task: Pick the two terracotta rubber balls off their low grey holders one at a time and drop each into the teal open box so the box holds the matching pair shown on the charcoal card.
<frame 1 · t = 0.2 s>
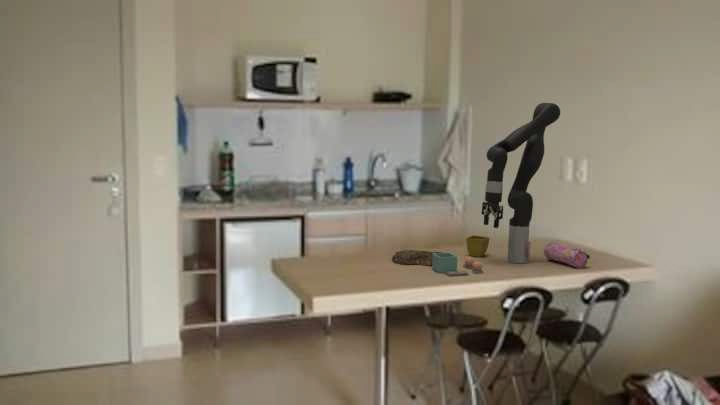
hand: (490, 226, 334), 17 cm above the table, tool pointing down, fingers open, 8 cm apart
target card: (456, 274, 314), on the table
ball a: (468, 261, 326), point 3 cm above the table, touching holder a
holder b: (477, 272, 318), on the table
flower pot: (477, 256, 353), on the table
ball b: (477, 266, 318), point 3 cm above the table, touching holder b
stone relief: (424, 261, 341), on the table
holder a: (468, 267, 327), on the table
pencil case: (565, 264, 338), on the table
teal open box: (444, 270, 320), on the table
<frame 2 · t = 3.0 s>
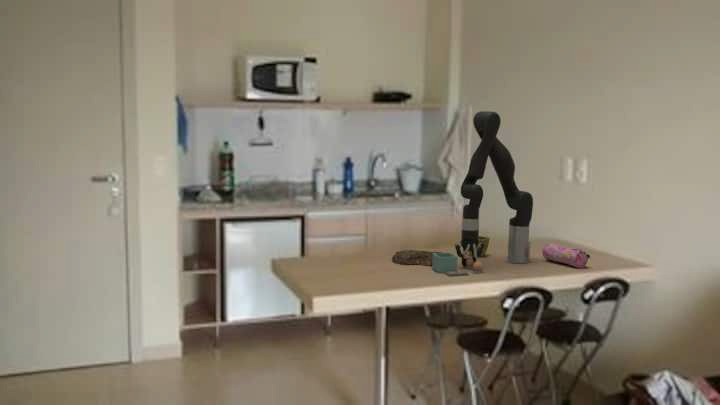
hand: (468, 265, 326), 1 cm above the table, tool pointing down, fingers closed on ball a, 4 cm apart
ball a: (468, 261, 326), point 3 cm above the table, touching gripper, holder a
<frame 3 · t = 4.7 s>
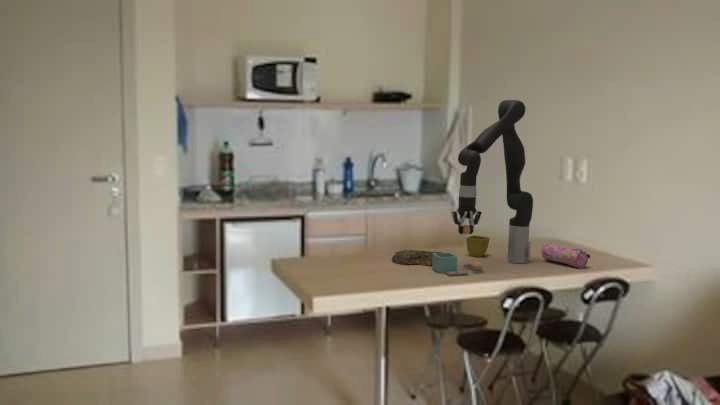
hand: (465, 233, 323), 16 cm above the table, tool pointing down, fingers closed on ball a, 4 cm apart
ball a: (465, 229, 323), point 18 cm above the table, touching gripper
when the fingers open (9 cm above the table, at t = 6.3 s): ball a drops 8 cm, resting on teal open box.
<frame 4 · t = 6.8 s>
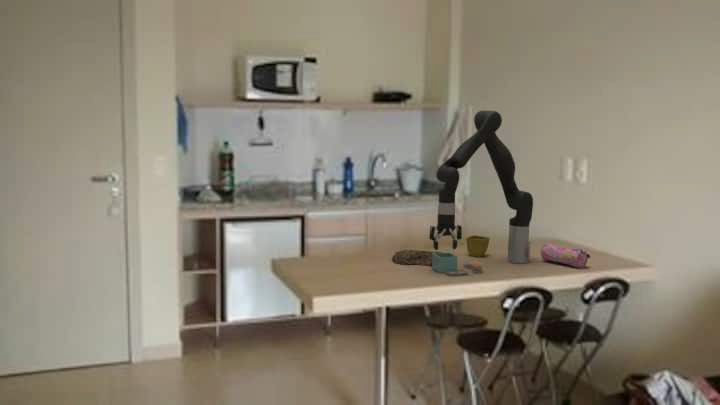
hand: (445, 249, 319), 10 cm above the table, tool pointing down, fingers open, 8 cm apart
ball a: (444, 265, 320), point 2 cm above the table, touching teal open box
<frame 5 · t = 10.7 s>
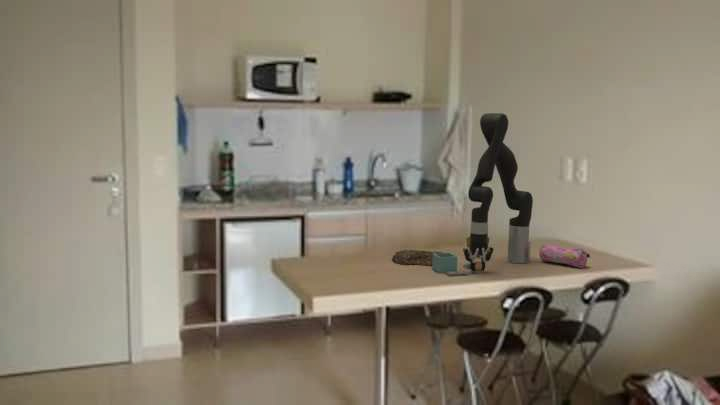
hand: (477, 270, 318), 1 cm above the table, tool pointing down, fingers closed on ball b, 4 cm apart
ball b: (477, 266, 318), point 3 cm above the table, touching gripper, holder b
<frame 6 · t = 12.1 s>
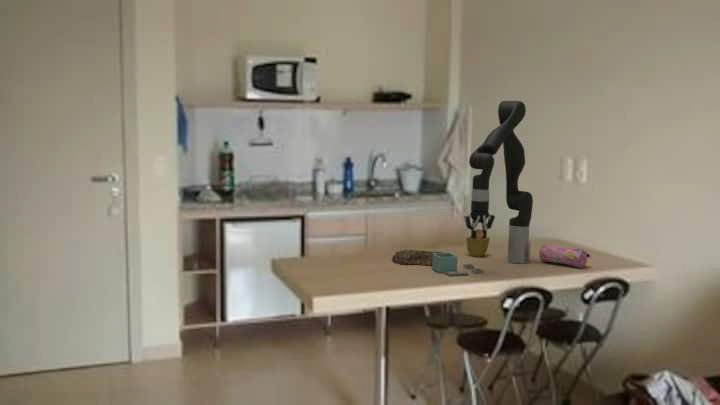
hand: (478, 238, 316), 15 cm above the table, tool pointing down, fingers closed on ball b, 4 cm apart
ball b: (478, 234, 316), point 17 cm above the table, touching gripper
when the fingers open (9 cm above the table, at t = 13.9 s): ball b drops 6 cm and tips over, resting on ball a, teal open box.
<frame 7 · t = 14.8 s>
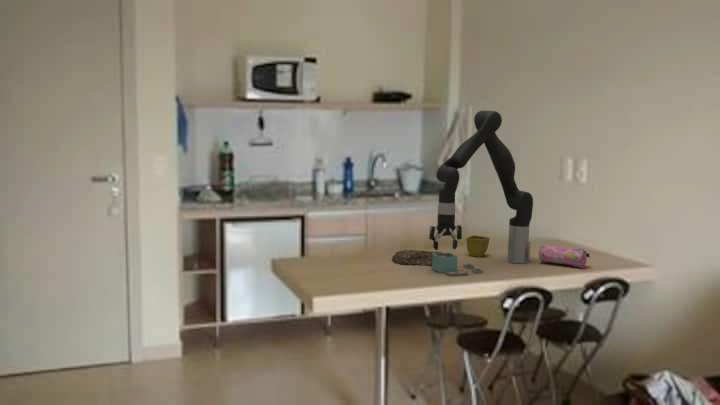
hand: (445, 249, 319), 10 cm above the table, tool pointing down, fingers open, 8 cm apart
ball a: (446, 265, 320), point 2 cm above the table, tilted 30°, touching ball b, teal open box
ball b: (442, 260, 318), point 5 cm above the table, tilted 116°, touching ball a, teal open box
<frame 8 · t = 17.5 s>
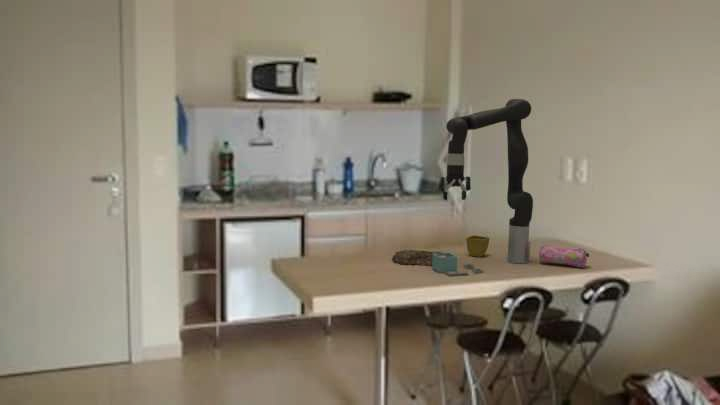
hand: (454, 199, 325), 30 cm above the table, tool pointing down, fingers open, 8 cm apart
at the end: ball a inside the target area on the teal open box (1.1 cm from its centre), point 2.5 cm above the teal open box's base; ball b inside the target area on the teal open box (2.1 cm from its centre), point 5.1 cm above the teal open box's base; the gripper is holding nothing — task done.
